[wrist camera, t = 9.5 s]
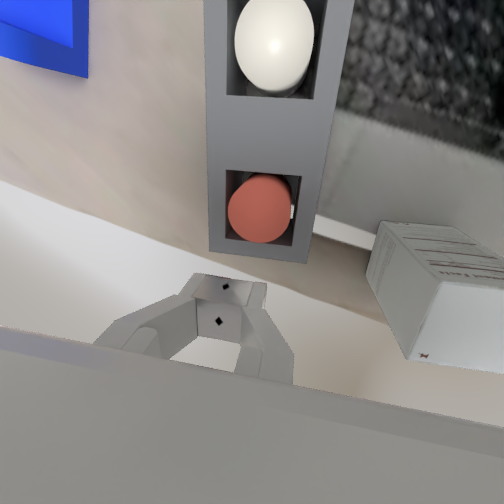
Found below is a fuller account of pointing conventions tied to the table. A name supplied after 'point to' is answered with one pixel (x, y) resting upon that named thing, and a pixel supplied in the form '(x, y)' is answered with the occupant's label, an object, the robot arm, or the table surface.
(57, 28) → the bracket
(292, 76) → the plug
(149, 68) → the table surface
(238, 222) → the red plug
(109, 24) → the table surface
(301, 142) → the block
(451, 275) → the supplement box
